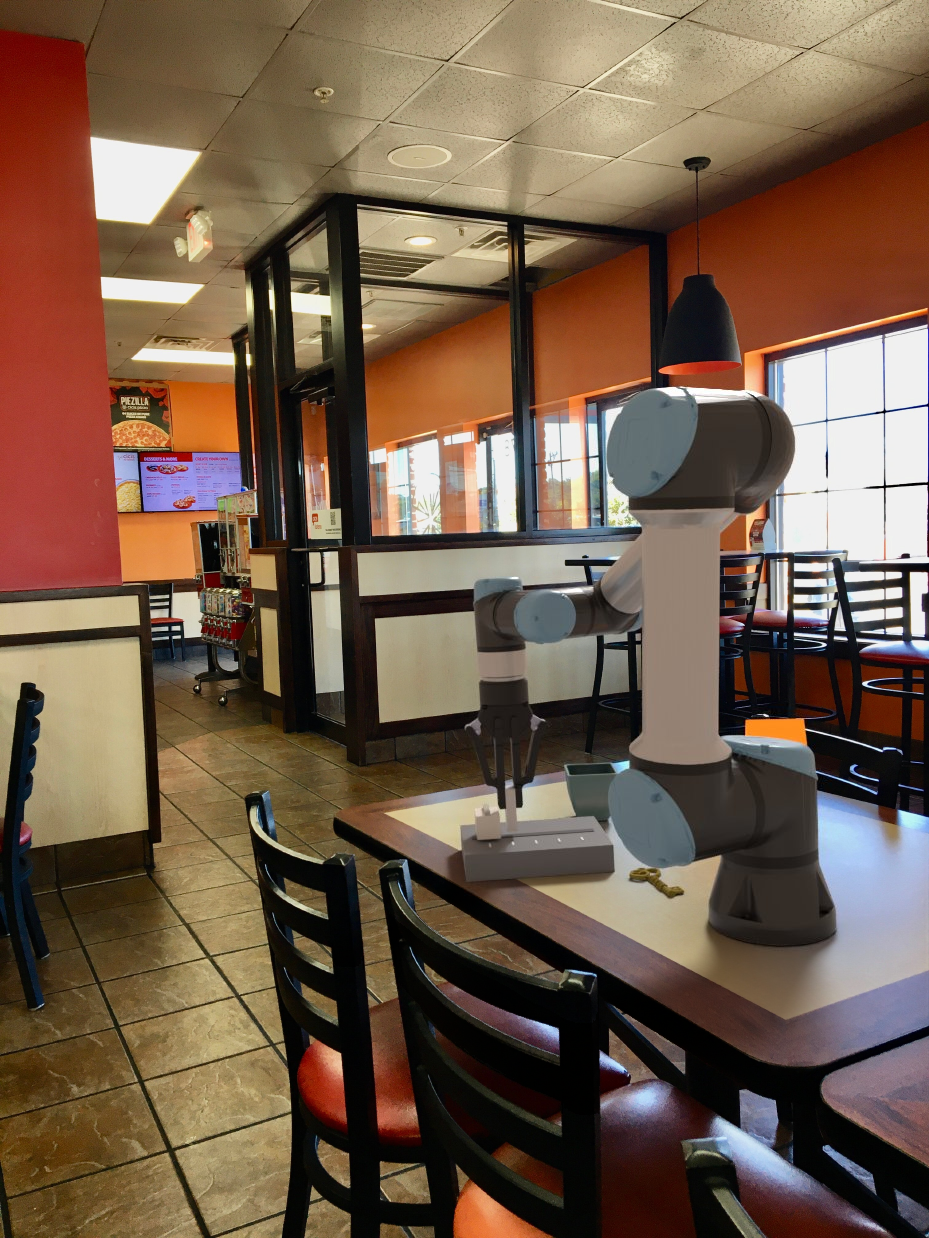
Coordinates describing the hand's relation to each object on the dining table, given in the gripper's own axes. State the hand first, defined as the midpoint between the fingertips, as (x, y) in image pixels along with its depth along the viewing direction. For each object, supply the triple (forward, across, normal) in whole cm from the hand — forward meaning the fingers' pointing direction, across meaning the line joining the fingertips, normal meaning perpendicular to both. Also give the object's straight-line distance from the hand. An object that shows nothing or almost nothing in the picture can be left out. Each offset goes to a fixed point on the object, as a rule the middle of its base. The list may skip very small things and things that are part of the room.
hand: (511, 828), depth 148 cm
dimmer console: (+5, -3, 0) cm, 6 cm away
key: (+6, -18, +14) cm, 24 cm away
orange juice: (+6, -41, +2) cm, 42 cm away
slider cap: (+1, +4, 0) cm, 4 cm away
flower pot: (+5, -17, -21) cm, 27 cm away
